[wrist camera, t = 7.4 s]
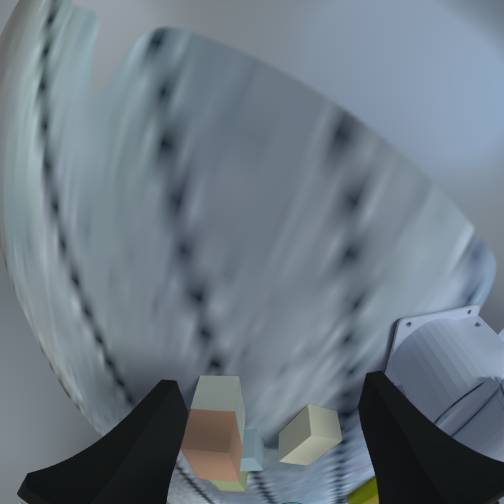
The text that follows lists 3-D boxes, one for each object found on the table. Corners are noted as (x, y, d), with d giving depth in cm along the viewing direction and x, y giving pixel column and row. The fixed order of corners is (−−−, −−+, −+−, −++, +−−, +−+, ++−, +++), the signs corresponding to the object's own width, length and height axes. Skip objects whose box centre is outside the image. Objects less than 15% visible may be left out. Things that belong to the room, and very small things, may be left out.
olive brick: (209, 450, 28) (205, 475, 24) (236, 450, 27) (233, 476, 24) (223, 468, 30) (220, 490, 26) (248, 468, 29) (245, 491, 25)
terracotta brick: (242, 446, 21) (238, 482, 17) (205, 444, 21) (198, 478, 17) (234, 411, 19) (229, 452, 15) (191, 408, 19) (180, 447, 15)
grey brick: (200, 375, 23) (190, 407, 19) (238, 376, 22) (234, 410, 19) (211, 414, 25) (205, 444, 21) (245, 415, 24) (242, 446, 21)
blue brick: (256, 427, 25) (254, 457, 21) (264, 442, 26) (262, 470, 23) (204, 431, 26) (198, 458, 22) (215, 445, 27) (211, 471, 23)
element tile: (343, 496, 35) (345, 515, 30) (385, 465, 30) (391, 488, 25) (400, 488, 35) (404, 504, 31) (444, 454, 30) (451, 472, 26)
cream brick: (307, 403, 23) (311, 435, 20) (336, 409, 24) (342, 440, 20) (278, 432, 25) (278, 461, 22) (305, 437, 26) (308, 465, 22)
